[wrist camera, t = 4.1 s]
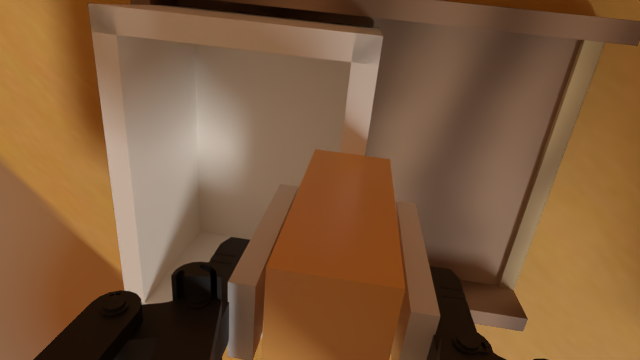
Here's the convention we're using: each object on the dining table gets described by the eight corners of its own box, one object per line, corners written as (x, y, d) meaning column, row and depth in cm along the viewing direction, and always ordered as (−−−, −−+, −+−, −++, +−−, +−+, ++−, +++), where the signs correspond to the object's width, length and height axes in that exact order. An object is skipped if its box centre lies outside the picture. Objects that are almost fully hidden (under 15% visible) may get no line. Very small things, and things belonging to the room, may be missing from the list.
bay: (599, 20, 21) (647, 22, 17) (503, 289, 28) (522, 331, 25) (167, -25, 23) (127, -32, 19) (181, 240, 30) (154, 271, 26)
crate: (398, 29, 21) (455, 70, 6) (359, 261, 27) (344, 552, 13) (182, 5, 22) (-195, -5, 7) (191, 235, 28) (-6, 480, 13)
